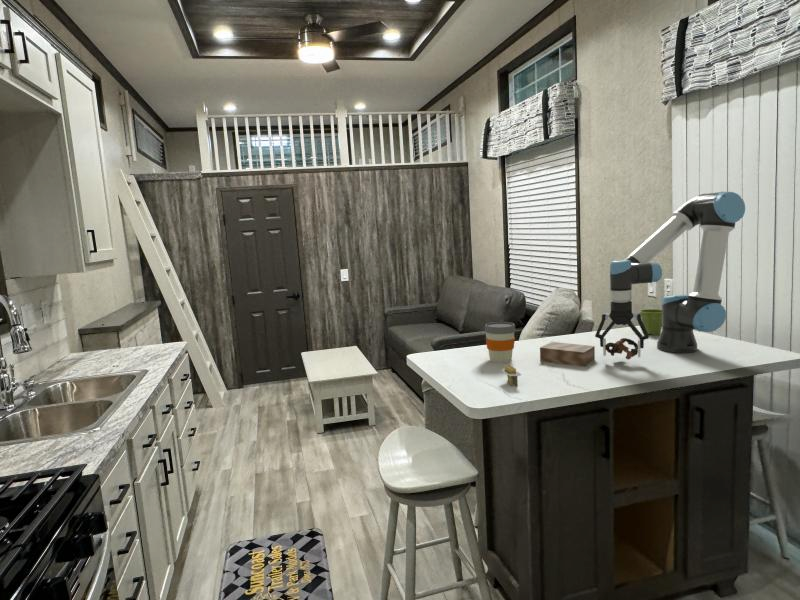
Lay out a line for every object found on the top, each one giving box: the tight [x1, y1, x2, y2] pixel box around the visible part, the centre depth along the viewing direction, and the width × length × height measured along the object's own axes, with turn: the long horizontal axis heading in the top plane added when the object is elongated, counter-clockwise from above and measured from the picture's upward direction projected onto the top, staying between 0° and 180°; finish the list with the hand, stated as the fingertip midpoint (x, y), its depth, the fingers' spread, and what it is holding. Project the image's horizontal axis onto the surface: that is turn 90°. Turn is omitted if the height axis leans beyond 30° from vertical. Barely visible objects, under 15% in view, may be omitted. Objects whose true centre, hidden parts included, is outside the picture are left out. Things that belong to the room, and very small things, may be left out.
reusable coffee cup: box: [484, 321, 516, 363], centre depth 217 cm, size 13×13×15 cm
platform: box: [501, 364, 522, 387], centre depth 185 cm, size 12×18×7 cm, turn 12°
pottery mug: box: [605, 337, 638, 361], centre depth 203 cm, size 12×10×8 cm
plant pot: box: [638, 308, 662, 336], centre depth 251 cm, size 12×12×11 cm
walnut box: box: [539, 341, 596, 367], centre depth 211 cm, size 18×12×6 cm, turn 51°
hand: (621, 355), depth 202 cm, fingers closed on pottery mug, 12 cm apart
